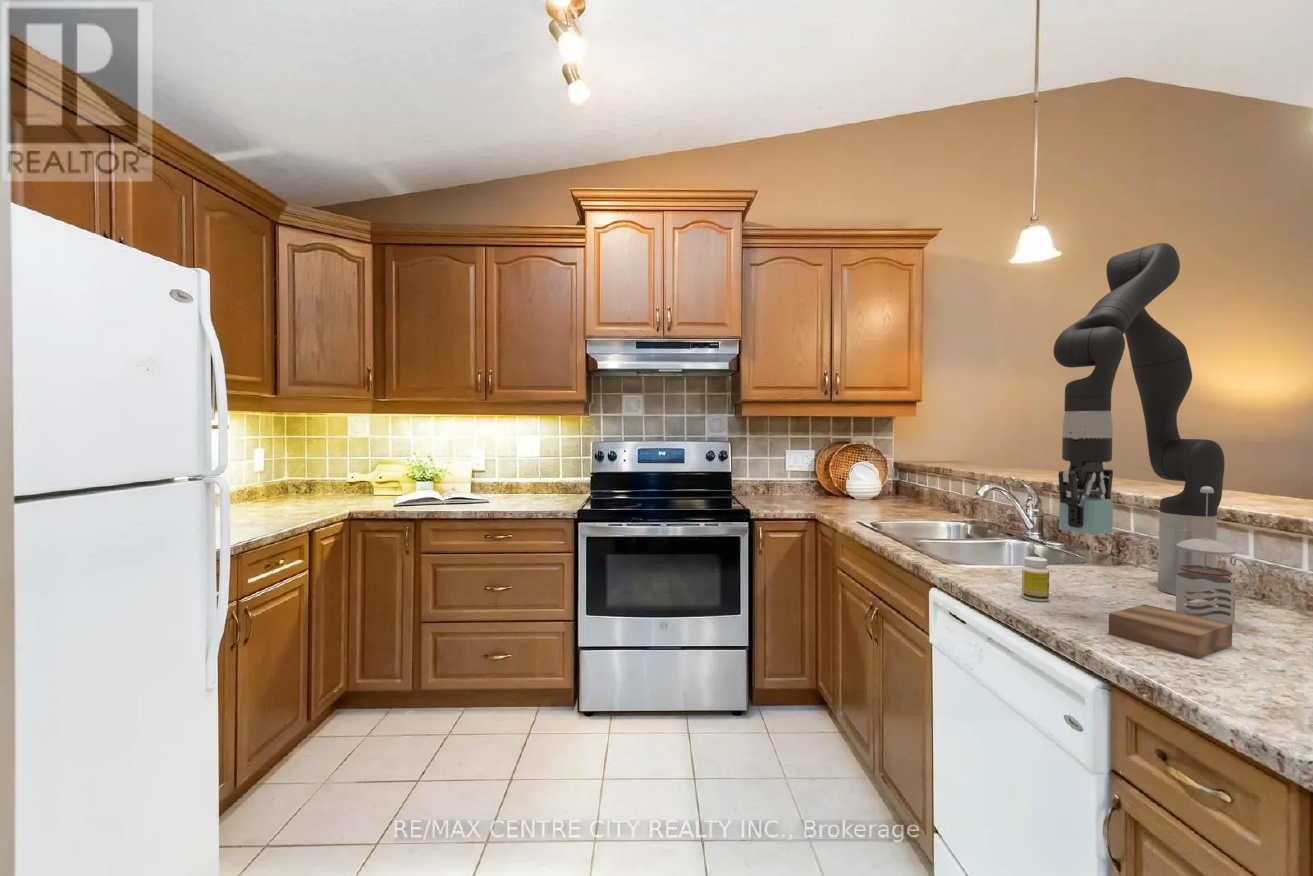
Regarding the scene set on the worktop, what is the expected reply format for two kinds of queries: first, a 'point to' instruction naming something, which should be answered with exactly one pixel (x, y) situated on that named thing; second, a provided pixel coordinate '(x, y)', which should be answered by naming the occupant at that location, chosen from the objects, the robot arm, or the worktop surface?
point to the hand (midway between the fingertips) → (1085, 525)
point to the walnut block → (1171, 630)
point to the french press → (1212, 574)
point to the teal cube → (1090, 516)
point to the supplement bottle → (1035, 579)
